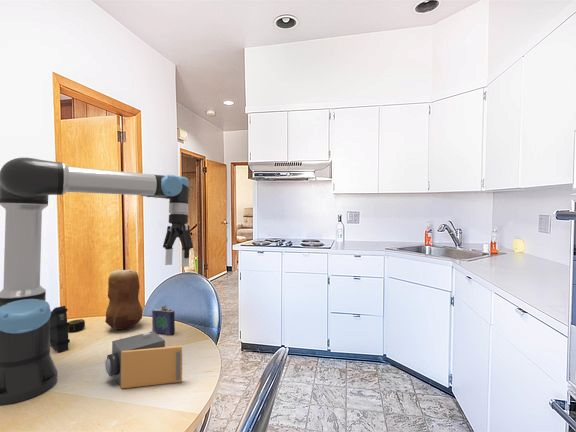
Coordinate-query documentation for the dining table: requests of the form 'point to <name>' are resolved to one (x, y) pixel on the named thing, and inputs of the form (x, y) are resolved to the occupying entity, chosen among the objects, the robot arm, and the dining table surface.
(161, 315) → the flask
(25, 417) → the dining table surface
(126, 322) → the butternut squash
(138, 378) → the side door
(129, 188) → the robot arm
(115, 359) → the block
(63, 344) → the black upright slab
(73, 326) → the tape measure
